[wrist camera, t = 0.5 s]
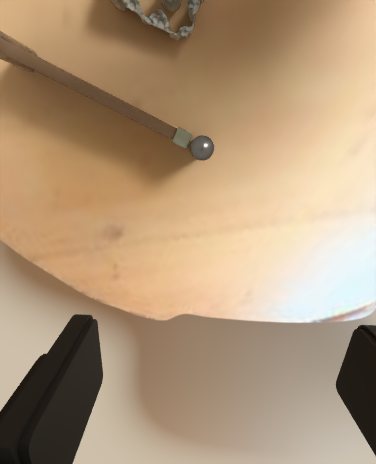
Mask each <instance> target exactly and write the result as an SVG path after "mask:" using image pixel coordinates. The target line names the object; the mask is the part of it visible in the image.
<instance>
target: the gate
mask: <svg viewBox="0 0 376 464" xmlns="http://www.w3.org/2000/svg"><path fill="white" fill-rule="evenodd" d="M0 53H2V54H4V55H6V56H8V57H10V58H12V59H14V60H16V61H18V62H20V63H22V64H24V65H26V66H28V67H30V68H32V69H34V70H36V71H38V72H40V73H41V74H43V75H45V76H47V77H49V78H51V79H53V80H55V81H57V82H59V83H61V84H63V85H65V86H67V87H69V88H71V89H73V90H75V91H77V92H79V93H81V94H83V95H85V96H87V97H89V98H91V99H93V100H95V101H97V102H99V103H101V104H103V105H105V106H107V107H109V108H111V109H113V110H115V111H117V112H119V113H121V114H123V115H125V116H127V117H128V118H130V119H132V120H134V121H136V122H138V123H140V124H142V125H144V126H146V127H148V128H150V129H152V130H154V131H156V132H158V133H160V134H162V135H164V136H166V137H168V138H170V139H172V140H173V141H172V142H173V143H175V144H177V145H179V146H181V147H183V148H185V149H186V148H187V146H188V144H189V142H190V139H191V137H192V134H191V133H189V132H187V131H185V130H183V129H182V128H180V127H178V129H177V128H175V127H173V126H171V125H169V124H167V123H165V122H163V121H161V120H159V119H157V118H155V117H153V116H152V115H150V114H148V113H146V112H144V111H142V110H140V109H138V108H136V107H134V106H132V105H130V104H128V103H126V102H124V101H122V100H120V99H119V98H117V97H115V96H113V95H111V94H109V93H107V92H105V91H103V90H101V89H99V88H97V87H95V86H93V85H91V84H89V83H87V82H85V81H84V80H82V79H80V78H78V77H76V76H74V75H72V74H70V73H68V72H66V71H64V70H62V69H60V68H58V67H56V66H54V65H52V64H50V63H49V62H47V61H45V60H43V59H41V58H39V57H37V56H35V55H33V54H31V53H29V52H27V51H25V50H23V49H21V48H19V47H17V46H15V45H14V44H12V43H10V42H8V41H6V40H4V39H2V38H0Z"/></svg>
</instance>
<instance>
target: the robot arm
mask: <svg viewBox="0 0 376 464" xmlns="http://www.w3.org/2000/svg"><path fill="white" fill-rule="evenodd" d="M102 379H103V370H102V360H101V352H100V342H99V333H98V323H97V320H96V319H93V318H92V316H91V315H74V316H73V317H72V318H71V319H70V321H69V322H68V324H67V325H66V327H65V328H64V330H63V331H62V333H61V334H60V335H59V337H58V338H57V340H56V341H55V343H54V344H53V346H52V347H51V349H50V350H49V352H48V353H47V354H43V355H42V356H40V357H39V358H38V360H37V361H36V362H35V363H34V365H33V366H32V368H31V369H30V371H29V372H28V374H27V375H26V376H25V378H24V379H23V380H22V382H21V383H20V385H19V386H18V387H17V389H16V390H15V392H14V393H13V395H12V396H11V397H10V399H9V400H8V402H7V403H6V404H5V406H4V407H3V409H2V410H1V411H0V464H72V463H73V461H74V458H75V455H76V452H77V450H78V447H79V444H80V441H81V439H82V436H83V433H84V431H85V428H86V425H87V422H88V420H89V417H90V414H91V412H92V408H93V406H94V403H95V401H96V398H97V395H98V392H99V390H100V387H101V384H102ZM336 388H337V392H338V394H339V395H340V397H341V399H342V400H343V402H344V404H345V405H346V407H347V409H348V410H349V412H350V414H351V415H352V417H353V419H354V420H355V422H356V424H357V425H358V427H359V429H360V430H361V432H362V433H363V435H364V437H365V439H366V440H367V442H368V444H369V445H370V447H371V449H372V450H373V452H374V454H375V455H376V326H374V325H360V326H359V327H358V328H357V329H355V330H354V332H353V334H352V337H351V340H350V343H349V346H348V349H347V352H346V355H345V358H344V360H343V363H342V366H341V369H340V372H339V375H338V378H337V381H336Z"/></svg>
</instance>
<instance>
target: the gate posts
mask: <svg viewBox="0 0 376 464" xmlns="http://www.w3.org/2000/svg"><path fill="white" fill-rule="evenodd" d="M0 38H2V39H4V40H6V41H8V42H10V43H12V44H14V45H15V46H17V47H19V48H21V49H23V50H25V51H27V52H29V53H31V54H33V55H35V56H37V55H36V53H35V52H34V51H33V50H32V49H30V48H28V47H26V46H25V45H23V44H21V43H20V42H18V41H16V40H15V39H13V38H11V37H10V36H8V35H6V34H4V33H3V32H1V31H0ZM0 59H2V60H4V61H6V62H9V63H11V64H13V65H15V66H18V67H20V68H22V69H24V70H27V71H35V70H34V69H32V68H30V67H28V66H26V65H24V64H22V63H20V62H18V61H16V60H14V59H12V58H10V57H8V56H6V55H4V54H2V53H0ZM213 151H214V144H213V142H212V140H211V139H210V138H209V137H207V136H198V137H196V138H195V139H194V140H193V141H192V143H191V153H192V155H193V156H194V157H195V158H196V159H198V160H206V159H208V158H210V157H211V155H212V154H213Z"/></svg>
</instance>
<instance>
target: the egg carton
mask: <svg viewBox="0 0 376 464" xmlns="http://www.w3.org/2000/svg"><path fill="white" fill-rule="evenodd" d="M111 1H112V3H113V4H114V6H115V7H116V8H117V9H118V10H120V11H123V12H124V11H125V9H126V8H129V9H131V10H132V11H134V12H136V13H137V14H138V15H139V16H140V17H141V19H142V22H143V23H145V24H149V25H153V26H156V27H158V28H160V29H162V30H164V31H166V32H168V33H170V37H171V38H172V39H174V40H177V41H178V40H179V39H180V38H181V37H182V36H184V37H186V38H188V35H191V34H192V32H193V29H194V19H195V13H196V12H197V11H198V9H199V6H200V1H201V2H203V1H204V0H188V4H189V19H190V21H191V23H192V26H191V27H187V26H183V27H181V28H180V29H179V31H178V33H175V32H172V31H171V30H170V27H169V20H168V18H167V17H166V15H165V14H164V13H163V11H162V10H161V9H158V10H157V11H156V12H155V13H152V14H151V15H150V16H149V17H146V16H144V14H143V13H142V9H141V6H140V3H139V1H138V0H111ZM161 2H162V5H163V6H164V8H165V9H166V10H168V11H170V12H173V11H176V10H177V9H178V8H179V7H180V5H181V0H161Z"/></svg>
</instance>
